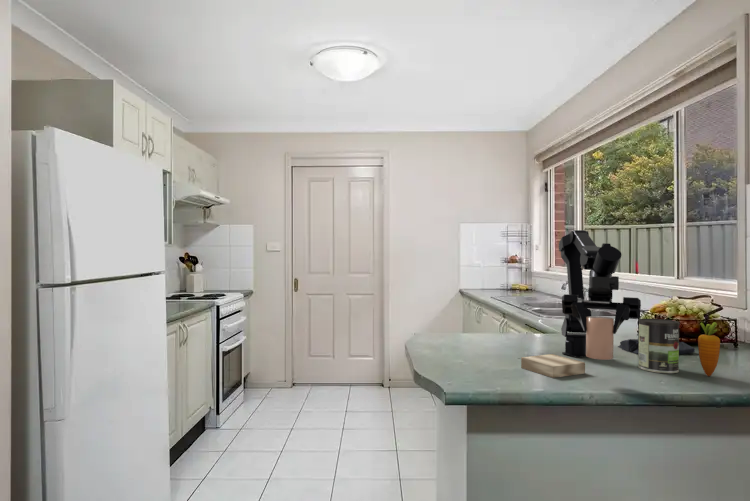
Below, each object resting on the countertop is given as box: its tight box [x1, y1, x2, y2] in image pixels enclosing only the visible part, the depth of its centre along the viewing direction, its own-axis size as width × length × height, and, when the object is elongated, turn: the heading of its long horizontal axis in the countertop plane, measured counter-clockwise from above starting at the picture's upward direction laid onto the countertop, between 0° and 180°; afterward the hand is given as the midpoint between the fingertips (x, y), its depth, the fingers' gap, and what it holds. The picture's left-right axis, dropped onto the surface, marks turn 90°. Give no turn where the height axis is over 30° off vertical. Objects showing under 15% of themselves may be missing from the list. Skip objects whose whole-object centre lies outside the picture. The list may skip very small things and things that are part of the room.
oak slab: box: [520, 353, 586, 379], centre depth 137 cm, size 12×12×3 cm
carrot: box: [697, 321, 721, 377], centre depth 132 cm, size 5×5×15 cm
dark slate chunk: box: [617, 338, 696, 356], centre depth 166 cm, size 15×22×5 cm
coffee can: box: [637, 318, 681, 374], centre depth 140 cm, size 10×10×14 cm
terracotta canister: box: [586, 315, 615, 361], centre depth 124 cm, size 6×6×10 cm
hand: (599, 331), depth 123 cm, fingers closed on terracotta canister, 6 cm apart
